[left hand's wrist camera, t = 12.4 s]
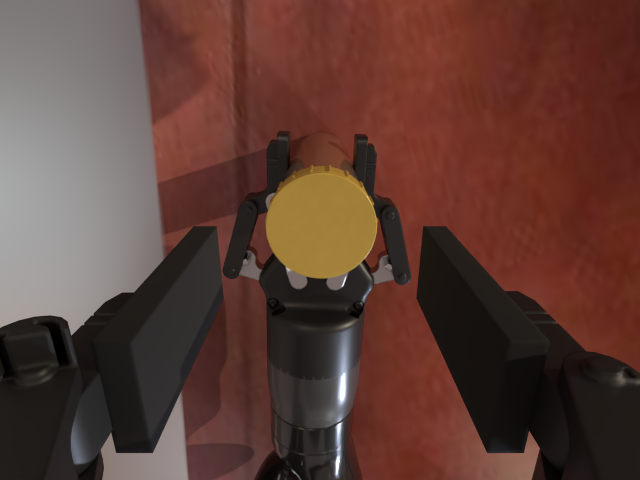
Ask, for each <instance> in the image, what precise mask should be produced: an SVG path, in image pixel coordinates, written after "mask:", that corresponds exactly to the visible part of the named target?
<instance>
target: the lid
mask: <svg viewBox="0 0 640 480" xmlns="http://www.w3.org/2000/svg"><path fill="white" fill-rule="evenodd" d="M373 204H374V203H373V200H372V198H371V196H368V194H367V192H366V190H365V188H364V186H363V184H362V182H361V181H360V182H359V181H358V180H357V179H355V178H354V177H353V176H352V175H350V174H349V172H348V171H347V170H346V172H345V171H343V170H340V169H337V168H334V167H331V165H329V167H328V166H314V167H313V165H311V166H310V167H309V168H305V169H302V170H300V171H298V172H296V171H294V172H293V174H292V175H291V176H290V177H288V178H287V179H286V180H285V181H284V182H280V184H279V187H278V189H277V191H276V193H275V195H274V197H273V196H272V197H271V199H270V201H269V204H268V205H270V206H269V209H268V212H267V216H266V219H265V222H266V235H267V239H268V243H269V245H270V247H271V249H272V251H273V253H274V254H275V256H276V257H277V258H278V259H279V261H280V262H281V263H283V264H284V265H285V266H286V267H287V268H289V269H290V270H292V271H294V272H296V273H298V274H300V275H303V276H307V277H311V278H332V277H336V276H339V275H342V274H345V273H347V272H349V271H351V270H352V269H354V268H355V267H356V266H358V265H359V264H360V263H361V262H362V261H363V260H364V259H365V258H366V256H367V255H368V253H369V252H370V250H371V248H372V246H373V244H374V241H375V237H376V232H377V222H378V220H377V217H376V214H375V210H374V208H373Z"/></svg>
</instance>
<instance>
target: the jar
mask: <svg viewBox="0 0 640 480" xmlns="http://www.w3.org/2000/svg"><path fill="white" fill-rule="evenodd" d="M311 165H313V167H314V166H328V167H329V165H331V167H334V168H337V169H340V170H343V171H345V172H346V170H347V171H348V172H349V174H350V175H352V176H353V177H354V178H355V179H357V180H358V178H357V176H356V173H355V171H354V168H353V166H352V163H351V161H350V159H349V156H348V154H347V151H346V149H345V147H344V145H343V144H342V142H341V141H340V140H339V139H338V138H336V137H335V136H333V135H331V134H328V133H314V134H311V135H309V136H307V137H306V138H304V139H303V140H302V141H301V142H300V143H299V145H298V146H297V148H296V151H295V153H294V156H293V159H292V161H291V164H290V166H289V169H288V171H287V174H286V176H285V179H284V181H285V180H286V179H287V178H288V177H290V176H291V175H292V174H293V172H294V171H296V172H298V171H300V170H302V169H305V168H309V167H310V166H311Z"/></svg>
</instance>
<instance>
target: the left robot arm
mask: <svg viewBox="0 0 640 480" xmlns="http://www.w3.org/2000/svg"><path fill="white" fill-rule="evenodd" d="M222 300H223V288H222V277H221V267H220V256H219V246H218V236H217V226H194V227H193V228H192V229H191V230H190V231H189V233H188V234H187V235H186V236H185V237H184V238H183V239H182V240H181V241H180V243H179V244H178V245H177V246H176V247H175V248H174V249H173V250H172V251H171V252H170V254H169V255H168V256H167V257H166V258H165V259H164V260H163V261H162V262H161V264H160V265H159V266H158V267H157V268H156V269H155V270H154V271H153V272H152V273H151V275H150V276H149V277H148V278H147V279H146V280H145V281H144V282H143V284H142V285H141V286H140V287H139V288H138V289H137V290H136V291H135V292H134V293H121V294H119V295H117V296H115V297H114V298H112V299H110V300H108V301H106V302H105V303H104V304H103V305H102V306H101V307H100V308H99V309H98V310H97V311H96V312H95V313H94V316H91V317H90V318H89V319H88V320H87V321H86V322H85V323H84V325H82V326H81V327H80V328H79V329H78V330H77V331H76V332H75V333H74V334H73V335H72V336H71V334H70V330H69V326H68V322H67V321H66V320H65V319H63V318H62V317H56V316H38V317H32V318H28V319H23V320H19V321H16V322H14V323H11V324H8V325H6V326H3V327H1V328H0V480H102V477H103V470H104V465H103V458H102V454H101V448H102V446H103V445H104V443H105V441H106V440H107V438H108V436H109V435H110V433H112V437H113V441H114V445H115V450H116V453H153V451H154V449H155V447H156V445H157V443H158V440H159V438H160V436H161V434H162V431H163V429H164V427H165V425H166V423H167V421H168V418H169V416H170V414H171V412H172V410H173V408H174V405H175V403H176V401H177V399H178V397H179V394H180V392H181V390H182V388H183V386H184V383H185V381H186V379H187V377H188V375H189V373H190V370H191V368H192V366H193V364H194V362H195V359H196V357H197V355H198V353H199V351H200V348H201V346H202V344H203V342H204V340H205V338H206V335H207V333H208V331H209V329H210V327H211V324H212V322H213V320H214V318H215V316H216V314H217V311H218V309H219V307H220V305H221V303H222ZM417 300H418V303H419V305H420V307H421V309H422V311H423V314H424V316H425V318H426V320H427V322H428V324H429V327H430V329H431V331H432V333H433V335H434V338H435V340H436V342H437V344H438V346H439V348H440V351H441V353H442V355H443V357H444V359H445V362H446V364H447V366H448V368H449V370H450V373H451V375H452V377H453V379H454V381H455V383H456V386H457V388H458V390H459V392H460V394H461V397H462V399H463V401H464V403H465V405H466V408H467V410H468V412H469V414H470V416H471V418H472V421H473V423H474V425H475V427H476V429H477V432H478V434H479V436H480V438H481V440H482V443H483V445H484V447H485V449H486V451H487V453H524V450H525V445H526V441H527V437H528V433H529V431H530V433H531V434H532V436H533V438H534V439H535V441H536V442H537V444H538V446H539V447H540V450H539V454H538V458H537V462H536V466H535V470H534V473H533V477H532V480H640V374H639V372H637V371H636V370H634V369H633V368H631V367H630V366H628V365H627V364H626V363H623V362H621V361H619V360H617V359H614V358H612V357H610V356H606V355H603V354H599V353H595V352H586V351H585V350H584V349H583V348H582V347H581V346H580V345H579V344H578V343H577V342H576V341H575V340H574V339H573V338H572V337H571V336H570V335H569V334H568V333H567V332H566V331H565V330H564V329H563V328H562V327H561V326H560V325H559V324H556V321H555V320H554V319H553V318H552V317H551V316H550V315H549V314H547V312H546V311H545V310H544V309H543V308H542V307H541V306H540V305H539V304H538V303H537V302H536V301H535V300H533V299H531V298H529V297H527V296H526V295H524V294H522V293H520V292H518V291H504V290H503V289H502V288H501V287H500V286H499V285H498V283H497V282H496V281H495V280H494V279H493V278H492V277H491V276H490V275H489V273H488V272H487V271H486V270H485V269H484V268H483V267H482V266H481V265H480V264H479V262H478V261H477V260H476V259H475V258H474V257H473V256H472V255H471V254H470V252H469V251H468V250H467V249H466V248H465V247H464V246H463V245H462V244H461V243H460V241H459V240H458V239H457V238H456V237H455V236H454V235H453V234H452V233H451V231H450V230H449V229H448V228H447V227H446V226H423V236H422V246H421V256H420V267H419V277H418V288H417Z"/></svg>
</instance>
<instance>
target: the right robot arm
mask: <svg viewBox="0 0 640 480" xmlns="http://www.w3.org/2000/svg"><path fill="white" fill-rule="evenodd" d="M376 160H377V153H376V150H375V147H374V145H373V144H368V137H367V136H366V135H365V134H355V137H354V151H353V168H354V171H355V173H356V176H357V178H358V181H359V182H360V181H361V182H362V184H363V186H364V188H365V190H366V192H367V194H368V196H371V198H372V200H373V203H374V204H373V208H374V210H375V214H376V217H377V218H379V220H380V224H381V229H382V234H383V239H384V244H385V248H386V251H382V252H381V253H379V255H378V258H377V260H378V261H377V264H376V266H374V267H373V268H370V267H369V265H368V264H367V263H366V261H365V260H363V261H362V262H361V263H360V264H359V265H358V266H356V267H355V268H354V269H352V270H351V271H349V272H347V273H345V274H342V275H339V276H336V277H332V278H311V277H307V276H303V275H300V274H298V273H296V272H294V271H292V270H290V269H289V268H287V267H286V266H285V265H284V264H283V263H281V262H280V261H279V259H278V258H277V257H276V256H275V254H274V253H273V254H272V255H271V256H270V258H269V259H268V260H267V261H266V263H265V264H264V265H263V264H261V263H260V262H259V261H258V259H257V250H256V249H255V248H254V247H252V246H249V245H250V242H251V239H252V235H253V232H254V228H255V225H256V221H257V218H258V215H259V214H262V213H265V212H268V209H269V206H270V205H268V204H269V201H270V199H271V197H272V196H273V197H274V195H275V193H276V191H277V189H278V187H279V184H280V182H284V179H285V176H286V174H287V171H288V169H289V166H290V131H279V132H278V134H277V140H272V141H271V142H270V143H269V146H268V148H267V189H265V190H264V191H261V192H258V193H249V194H248V195H247V196H246V198H245V200H244V201H243V202H242V204H241V205H240V207H239V211H238V215H237V218H236V222H235V226H234V229H233V233H232V237H231V241H230V244H229V248H228V252H227V256H226V259H225V263H224V267H223V274H224V275H225V276H226V277H227V278H230V279H234V278H236V277H238V276H239V275H242V276H245V277H249V278H252V279H256V280H259V283H260V286H261V287H262V289H263V290H264V292H265V295H266V302H267V373H268V385H269V390H270V395H271V437H272V443H273V447H274V450H273V451H272V452H271V453H270V454H269V455H268V456H267V457H266V458H265V460H264V462H263V463H262V465H261V466H260V468H259V470H258V472H257V474H256V476H255V478H254V480H363V479H362V474H361V470H360V466H359V463H358V459H357V455H356V451H355V446H354V443H353V439H352V436H351V428H352V418H353V406H354V398H355V394H356V390H357V386H358V380H359V371H360V359H361V348H362V336H363V325H364V313H365V303H366V299H367V296H368V295H369V293H370V292H371V291H372V289H373V287H374V284H378V283H382V282H387V281H391V280H395V282H396V283H397V284H400V285H404V284H407V283H408V282H409V281H410V279H411V273H410V268H409V263H408V257H407V252H406V247H405V241H404V236H403V231H402V226H401V220H400V215H399V211H398V210H397V208H396V207H395V205H394V203H393V202H392V200H391V199H389V198H383V197H381V196H378V195H376V194H375V193H374V183H375V171H376Z"/></svg>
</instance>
